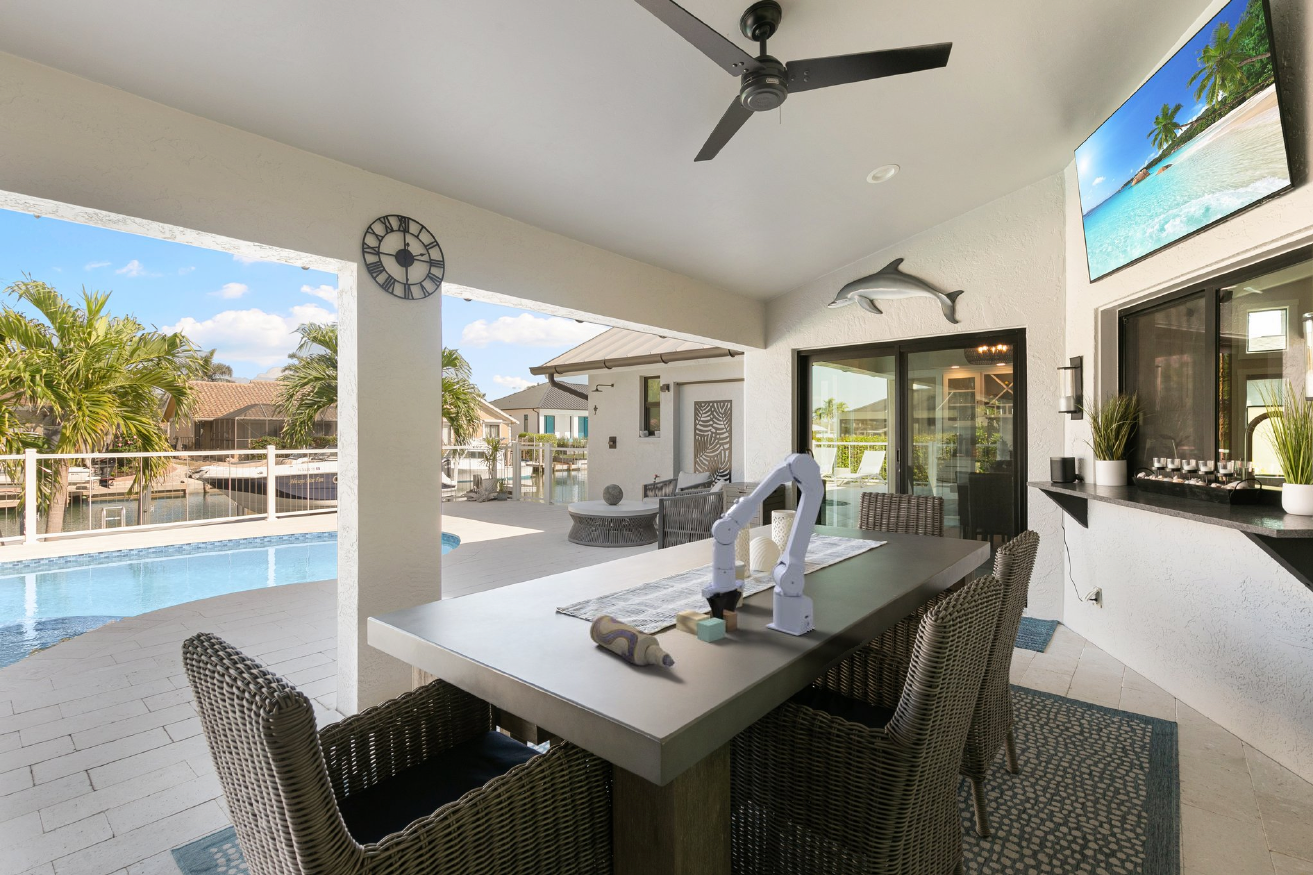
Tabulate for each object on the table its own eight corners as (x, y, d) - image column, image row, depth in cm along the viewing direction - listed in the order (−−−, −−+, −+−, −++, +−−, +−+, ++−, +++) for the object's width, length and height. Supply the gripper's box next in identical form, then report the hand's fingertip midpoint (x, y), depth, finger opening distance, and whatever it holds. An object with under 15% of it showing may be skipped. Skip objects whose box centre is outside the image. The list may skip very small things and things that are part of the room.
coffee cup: (706, 601, 174) (706, 560, 174) (733, 598, 178) (734, 558, 178) (723, 610, 166) (723, 567, 166) (751, 606, 170) (751, 564, 170)
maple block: (709, 632, 147) (709, 615, 147) (696, 636, 144) (696, 619, 144) (688, 625, 152) (688, 609, 152) (676, 629, 149) (676, 613, 149)
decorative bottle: (587, 646, 136) (587, 617, 136) (615, 640, 141) (615, 612, 141) (655, 683, 116) (656, 648, 116) (685, 674, 120) (686, 641, 120)
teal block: (714, 633, 146) (714, 617, 146) (725, 637, 143) (725, 620, 143) (697, 639, 142) (697, 622, 142) (708, 642, 139) (708, 625, 139)
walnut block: (737, 629, 149) (737, 613, 149) (728, 632, 147) (728, 615, 147) (718, 623, 154) (718, 608, 154) (709, 626, 151) (709, 610, 151)
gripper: (729, 561, 158) (729, 612, 158) (692, 568, 148) (692, 623, 148) (751, 565, 153) (750, 618, 153) (714, 573, 143) (713, 630, 143)
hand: (723, 621), depth 150 cm, fingers closed on walnut block, 3 cm apart
